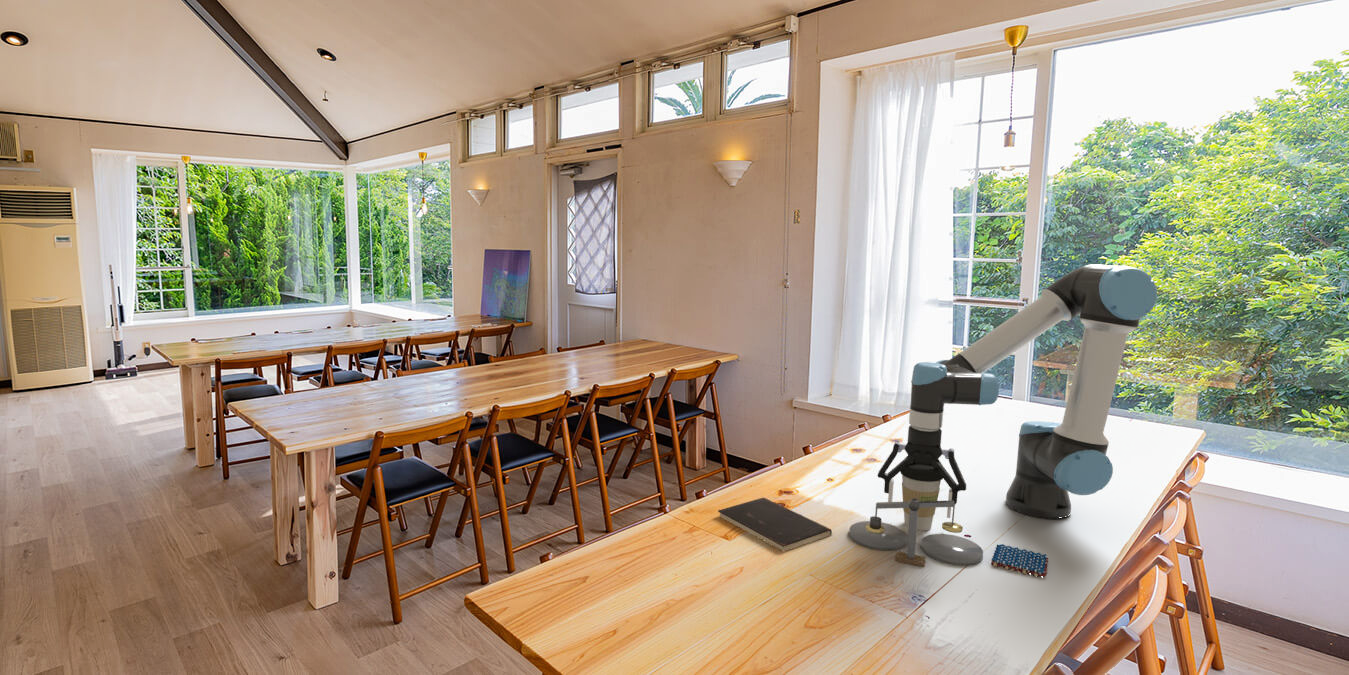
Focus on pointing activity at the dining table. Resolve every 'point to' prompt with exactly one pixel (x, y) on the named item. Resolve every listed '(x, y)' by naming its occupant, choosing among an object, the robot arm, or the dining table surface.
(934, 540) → the grey flat disc
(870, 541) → the dish low side
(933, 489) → the coffee cup
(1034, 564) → the woven mat
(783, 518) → the hardcover book
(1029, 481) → the robot arm
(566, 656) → the dining table surface
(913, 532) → the balance
